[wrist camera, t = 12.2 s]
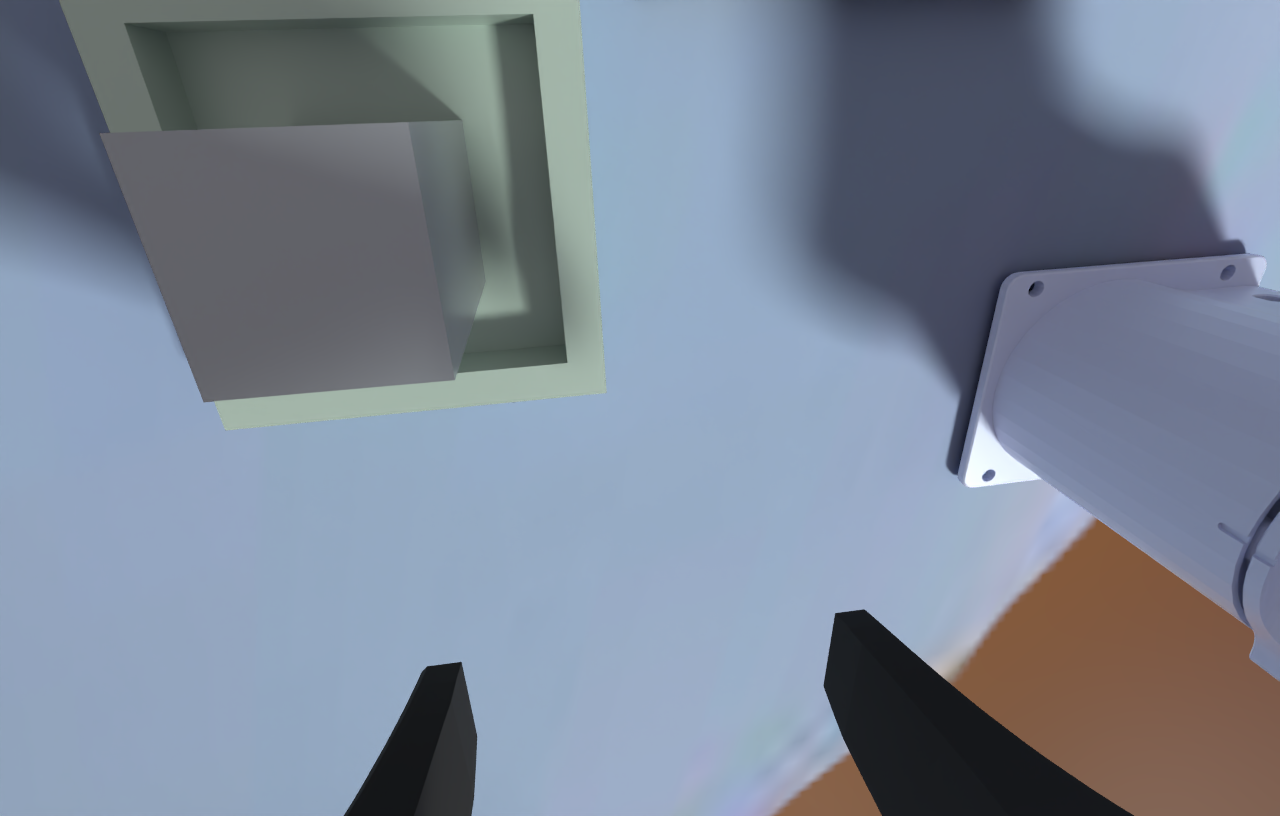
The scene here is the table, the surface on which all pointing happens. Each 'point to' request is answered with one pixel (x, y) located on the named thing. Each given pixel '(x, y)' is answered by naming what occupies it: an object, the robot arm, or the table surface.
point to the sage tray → (387, 93)
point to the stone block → (309, 251)
